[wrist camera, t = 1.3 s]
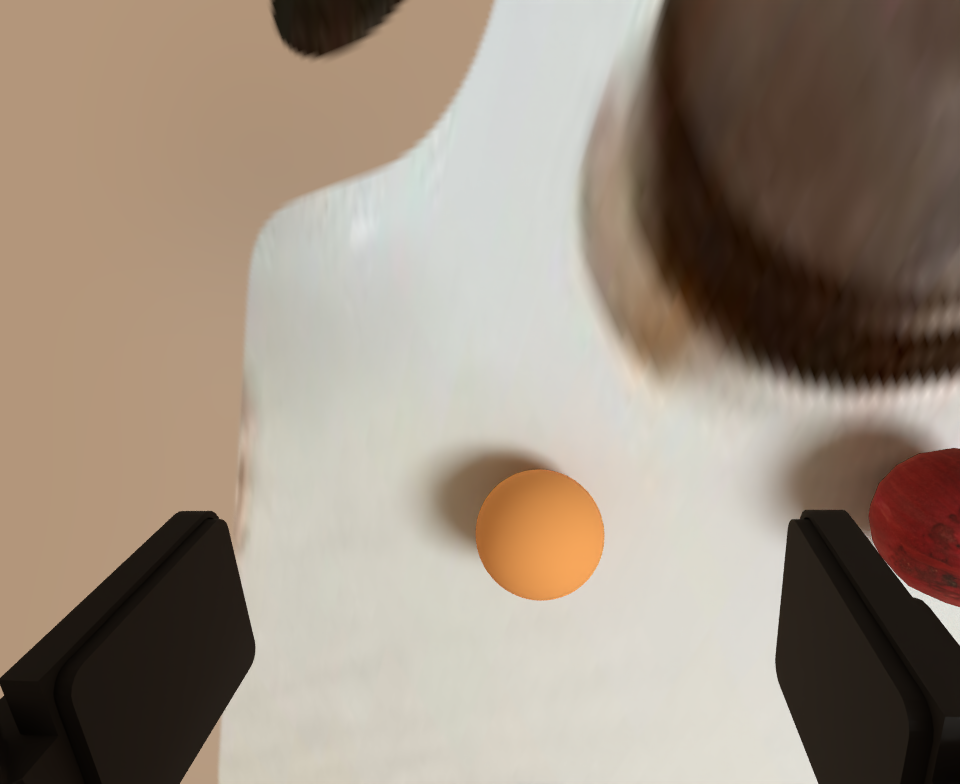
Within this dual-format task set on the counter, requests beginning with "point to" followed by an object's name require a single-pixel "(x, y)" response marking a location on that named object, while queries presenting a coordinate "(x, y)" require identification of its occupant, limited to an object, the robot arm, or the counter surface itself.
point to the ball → (540, 534)
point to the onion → (921, 523)
